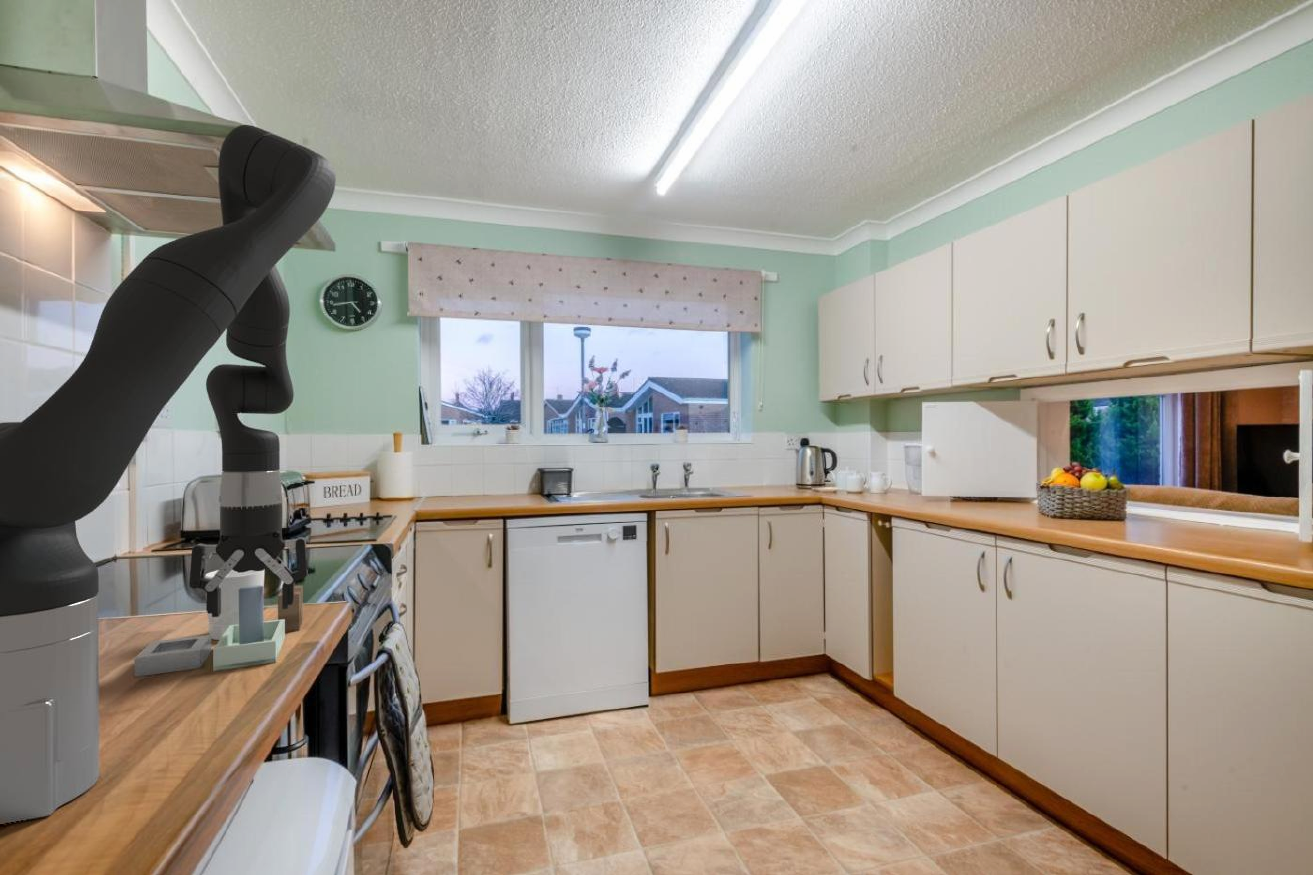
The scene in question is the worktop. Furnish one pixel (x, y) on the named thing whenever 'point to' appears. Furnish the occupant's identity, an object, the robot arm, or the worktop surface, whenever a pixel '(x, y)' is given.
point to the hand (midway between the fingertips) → (251, 611)
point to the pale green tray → (248, 647)
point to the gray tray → (173, 655)
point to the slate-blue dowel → (251, 614)
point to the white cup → (231, 599)
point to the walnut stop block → (292, 610)
